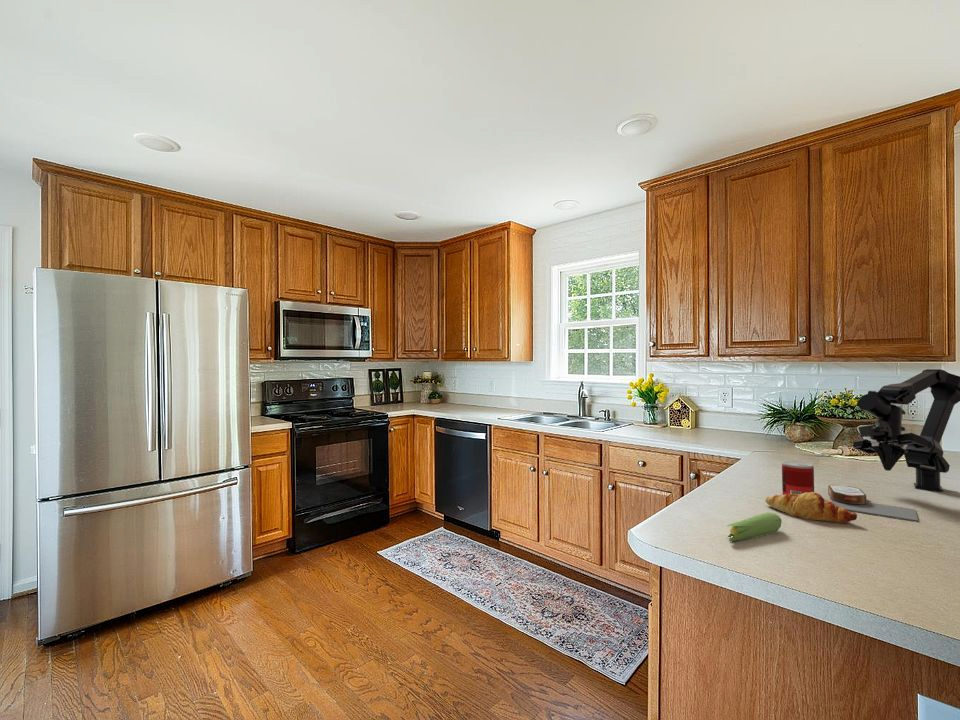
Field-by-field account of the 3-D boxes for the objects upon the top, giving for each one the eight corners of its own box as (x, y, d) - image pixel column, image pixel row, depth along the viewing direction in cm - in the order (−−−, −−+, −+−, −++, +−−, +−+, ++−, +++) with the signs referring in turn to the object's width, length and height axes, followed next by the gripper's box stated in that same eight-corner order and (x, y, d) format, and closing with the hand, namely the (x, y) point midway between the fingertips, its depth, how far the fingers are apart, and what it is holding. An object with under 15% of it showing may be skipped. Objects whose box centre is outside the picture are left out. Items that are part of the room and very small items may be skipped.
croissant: (762, 519, 130) (755, 498, 127) (773, 497, 135) (767, 476, 133) (855, 540, 113) (850, 515, 111) (863, 513, 119) (858, 489, 116)
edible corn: (790, 516, 110) (772, 506, 114) (733, 531, 102) (716, 520, 106) (784, 534, 112) (767, 523, 116) (728, 550, 104) (711, 538, 108)
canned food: (820, 503, 133) (820, 466, 133) (793, 503, 133) (792, 466, 133) (802, 495, 140) (801, 460, 140) (776, 495, 140) (776, 460, 141)
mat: (832, 498, 137) (832, 497, 137) (914, 510, 125) (914, 509, 125) (830, 507, 128) (830, 506, 128) (918, 521, 116) (918, 520, 116)
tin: (859, 494, 140) (825, 493, 145) (858, 484, 140) (824, 483, 145) (870, 506, 127) (833, 503, 132) (869, 494, 128) (831, 492, 132)
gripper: (839, 418, 150) (836, 463, 145) (895, 407, 133) (894, 458, 127) (869, 430, 150) (867, 475, 145) (929, 421, 133) (929, 472, 128)
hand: (887, 470), depth 136 cm, fingers closed
